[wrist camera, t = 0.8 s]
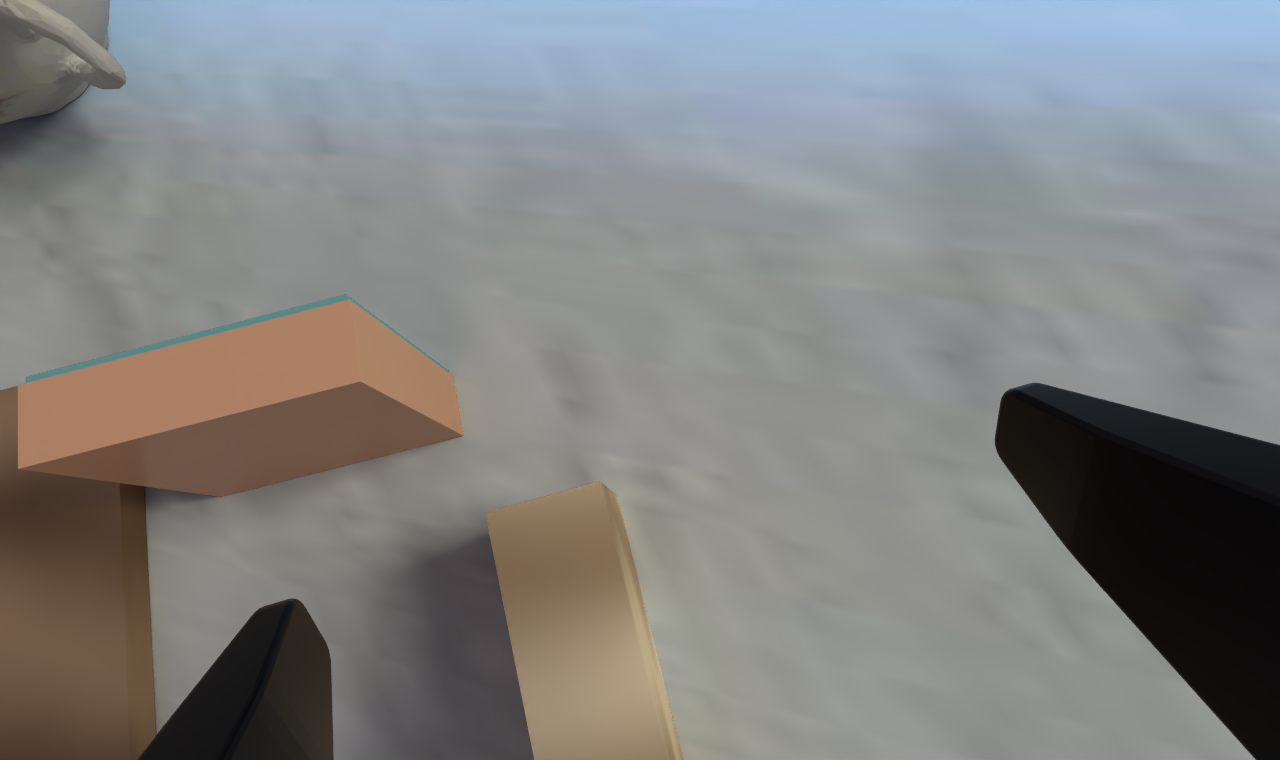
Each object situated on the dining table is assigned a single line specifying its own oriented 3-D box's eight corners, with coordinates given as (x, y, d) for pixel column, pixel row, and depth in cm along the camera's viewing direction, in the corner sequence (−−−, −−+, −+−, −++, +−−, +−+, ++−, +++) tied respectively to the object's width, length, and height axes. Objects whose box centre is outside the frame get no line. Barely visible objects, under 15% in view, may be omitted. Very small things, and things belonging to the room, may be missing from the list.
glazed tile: (464, 436, 23) (360, 381, 16) (222, 497, 23) (18, 468, 16) (453, 370, 23) (348, 291, 16) (217, 431, 23) (17, 376, 17)
